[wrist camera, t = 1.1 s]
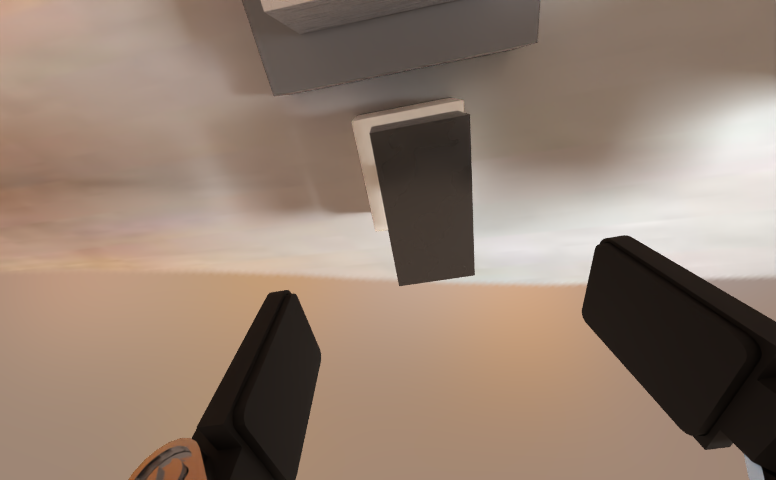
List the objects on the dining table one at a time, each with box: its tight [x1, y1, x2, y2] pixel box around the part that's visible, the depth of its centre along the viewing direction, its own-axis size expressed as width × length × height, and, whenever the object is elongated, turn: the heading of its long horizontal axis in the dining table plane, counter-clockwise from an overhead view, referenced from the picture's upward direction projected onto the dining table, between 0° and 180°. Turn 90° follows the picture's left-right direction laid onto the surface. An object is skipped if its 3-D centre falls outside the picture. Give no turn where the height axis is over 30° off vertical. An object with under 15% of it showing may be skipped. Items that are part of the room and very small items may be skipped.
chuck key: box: [369, 110, 475, 286], centre depth 20 cm, size 5×9×11 cm, turn 10°
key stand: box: [351, 98, 464, 232], centre depth 24 cm, size 8×9×4 cm
